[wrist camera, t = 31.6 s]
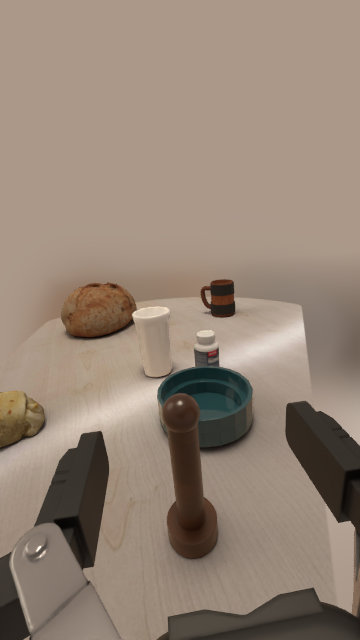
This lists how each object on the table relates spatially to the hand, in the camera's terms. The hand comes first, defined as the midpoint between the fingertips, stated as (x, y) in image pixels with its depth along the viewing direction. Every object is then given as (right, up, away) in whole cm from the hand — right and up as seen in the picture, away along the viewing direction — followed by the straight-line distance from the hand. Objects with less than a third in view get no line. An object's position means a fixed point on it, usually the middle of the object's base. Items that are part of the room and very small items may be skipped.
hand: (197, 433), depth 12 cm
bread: (-28, +3, +86) cm, 91 cm away
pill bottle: (+5, -7, +49) cm, 50 cm away
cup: (-6, -7, +51) cm, 52 cm away
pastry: (-31, -15, +36) cm, 50 cm away
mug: (+13, +7, +87) cm, 88 cm away
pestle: (+1, -18, +17) cm, 25 cm away
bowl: (+4, -11, +35) cm, 37 cm away
